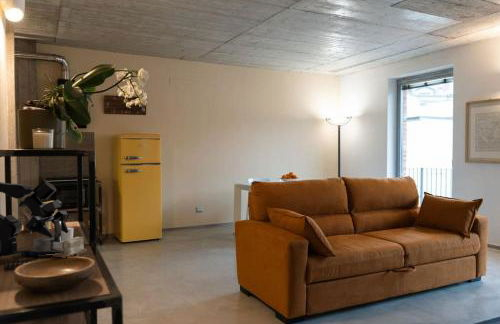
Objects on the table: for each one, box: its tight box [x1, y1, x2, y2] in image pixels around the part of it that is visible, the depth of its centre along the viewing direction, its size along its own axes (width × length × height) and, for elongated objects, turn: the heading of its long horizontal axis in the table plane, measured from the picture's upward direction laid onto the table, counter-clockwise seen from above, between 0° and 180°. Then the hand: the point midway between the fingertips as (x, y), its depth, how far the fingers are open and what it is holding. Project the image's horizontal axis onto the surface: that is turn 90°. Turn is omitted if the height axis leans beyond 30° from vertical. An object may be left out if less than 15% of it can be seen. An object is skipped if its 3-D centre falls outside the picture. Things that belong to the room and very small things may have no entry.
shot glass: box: [62, 226, 75, 241], centre depth 190 cm, size 7×7×7 cm
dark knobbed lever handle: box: [51, 221, 64, 250], centre depth 171 cm, size 15×3×11 cm, turn 76°
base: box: [30, 236, 88, 256], centre depth 170 cm, size 21×12×6 cm, turn 75°
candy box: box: [42, 200, 59, 230], centre depth 229 cm, size 9×4×15 cm, turn 175°
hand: (60, 234), depth 170 cm, fingers open, 9 cm apart
